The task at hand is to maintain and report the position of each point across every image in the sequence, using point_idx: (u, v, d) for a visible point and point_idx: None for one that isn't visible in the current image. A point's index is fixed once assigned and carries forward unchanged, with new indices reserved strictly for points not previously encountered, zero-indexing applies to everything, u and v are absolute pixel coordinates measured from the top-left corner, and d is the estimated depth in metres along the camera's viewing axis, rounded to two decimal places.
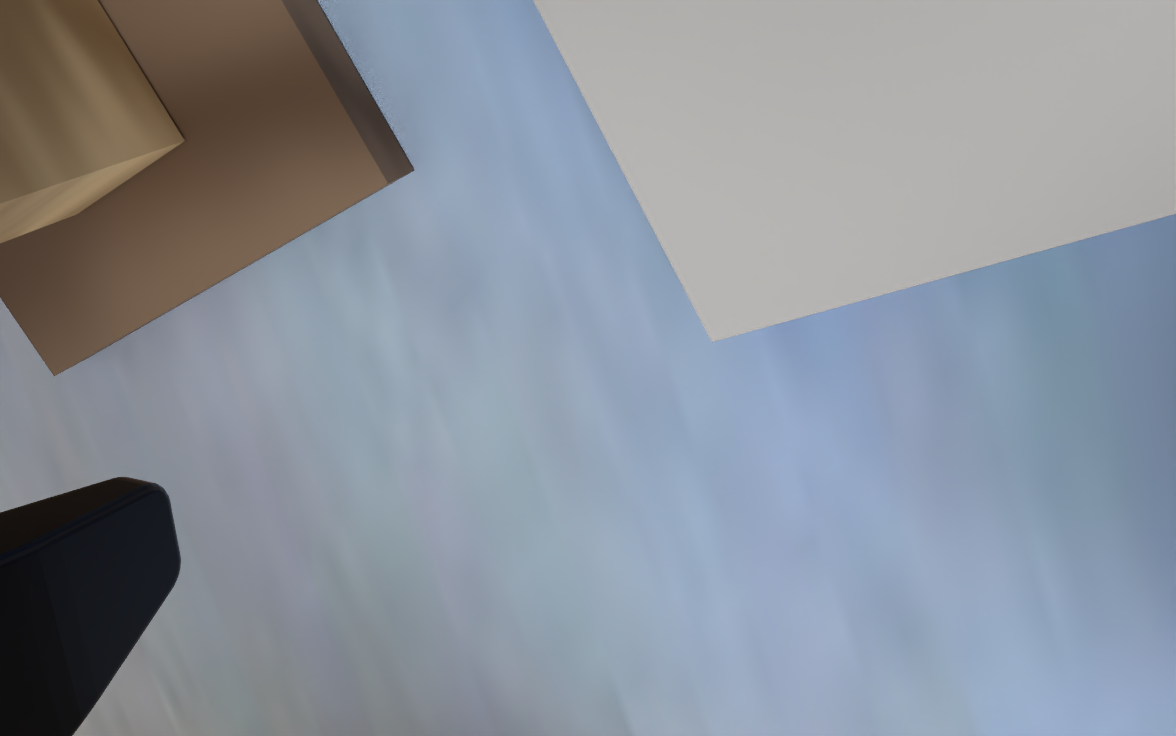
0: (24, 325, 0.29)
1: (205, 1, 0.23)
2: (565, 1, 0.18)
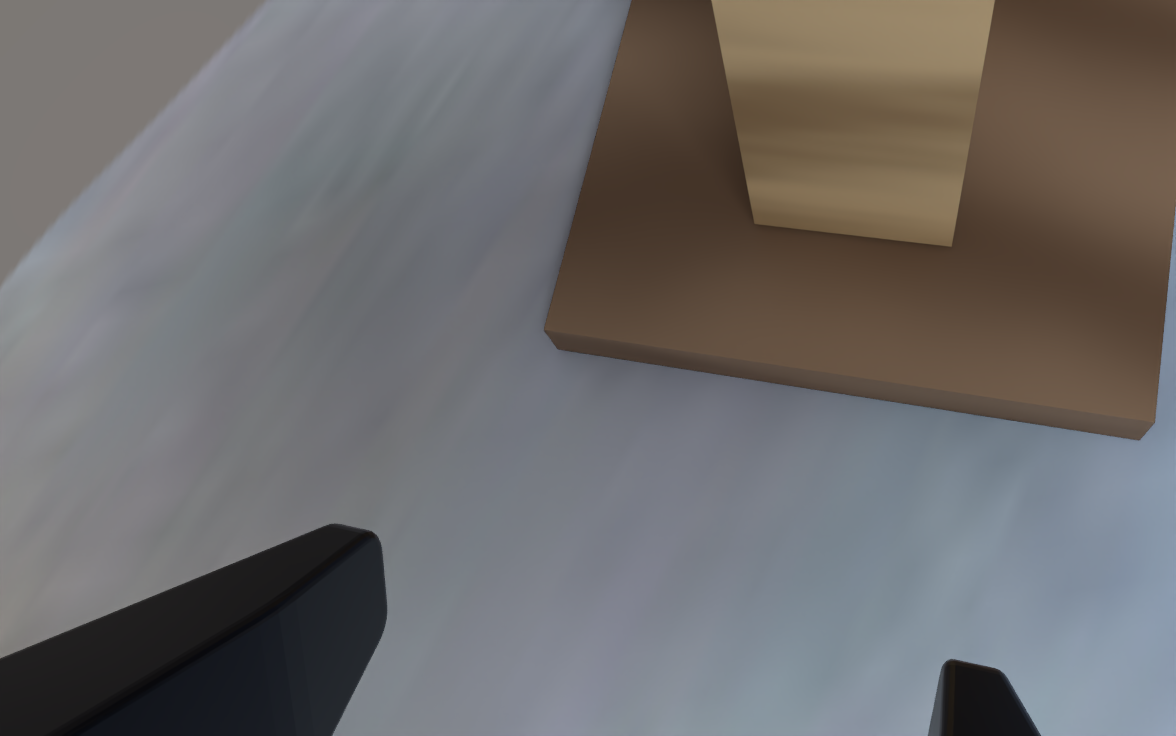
0: (567, 268, 0.24)
1: (1089, 169, 0.22)
2: None
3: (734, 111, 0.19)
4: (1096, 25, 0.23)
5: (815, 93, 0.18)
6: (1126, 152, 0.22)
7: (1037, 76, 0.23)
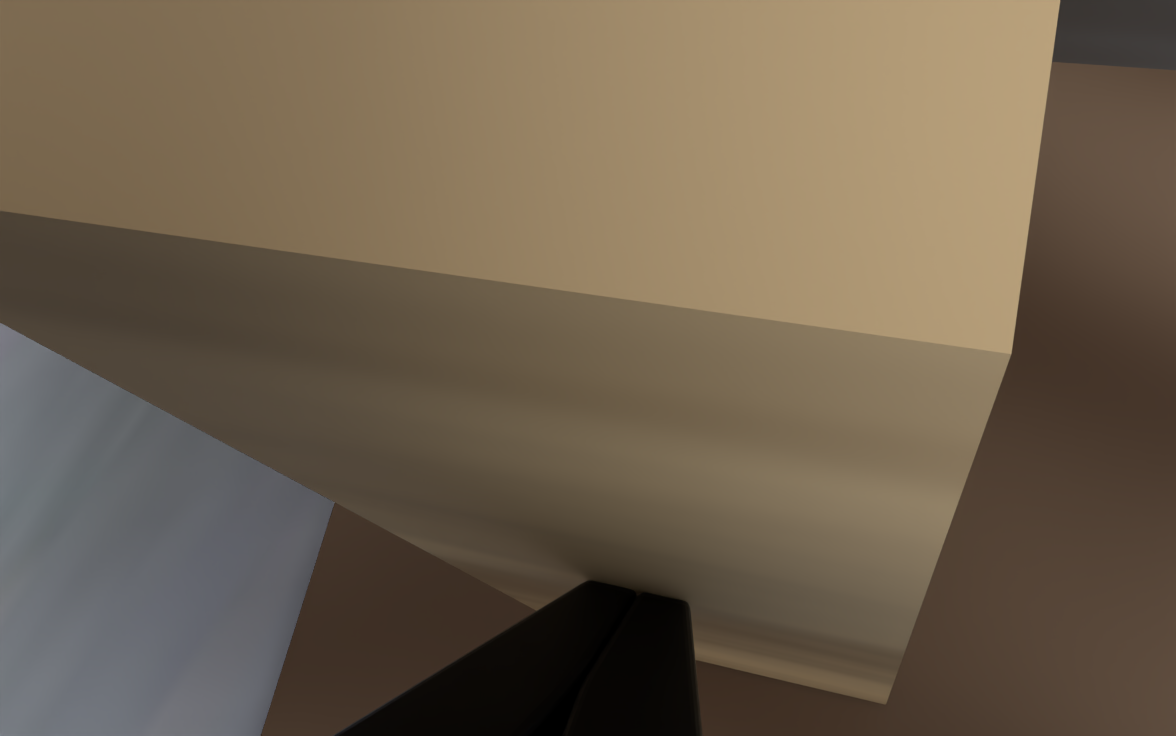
0: None
1: (1103, 673, 0.13)
2: None
3: (471, 575, 0.11)
4: (1114, 400, 0.14)
5: None
6: (1168, 645, 0.13)
7: (1017, 486, 0.14)
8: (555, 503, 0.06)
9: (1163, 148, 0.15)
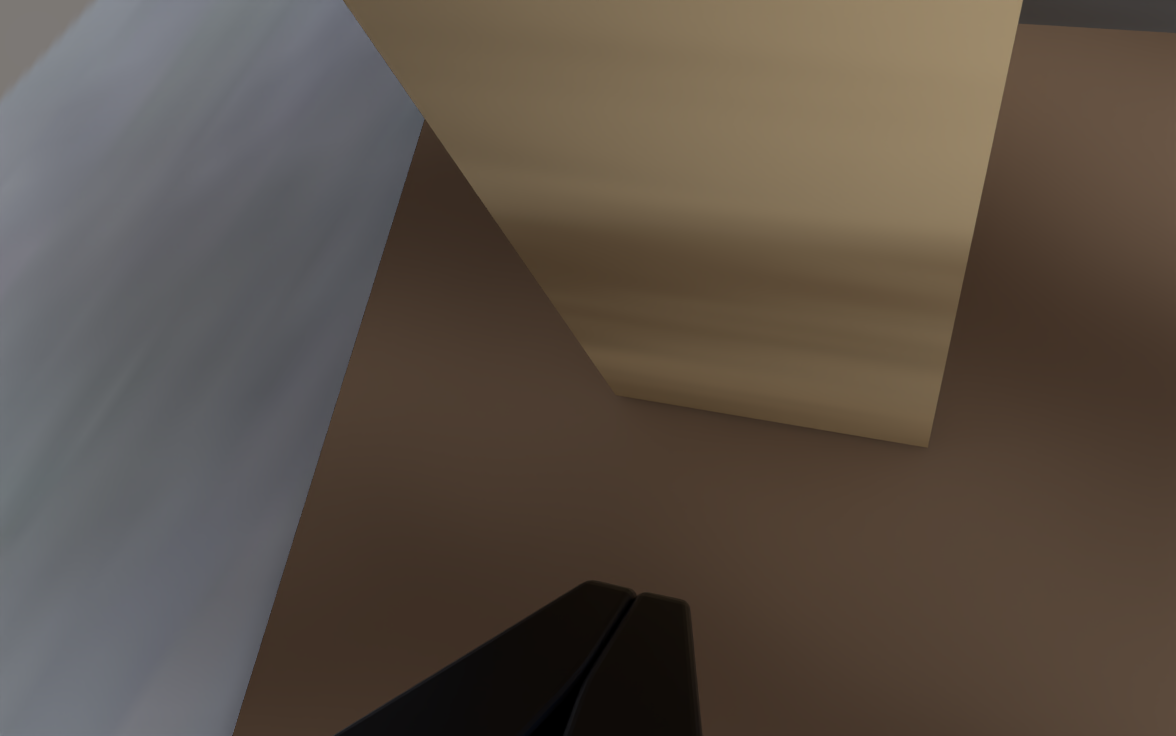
0: None
1: (1117, 680, 0.12)
2: None
3: (525, 260, 0.11)
4: (1129, 388, 0.13)
5: (654, 244, 0.10)
6: None
7: (1025, 480, 0.13)
8: None
9: None
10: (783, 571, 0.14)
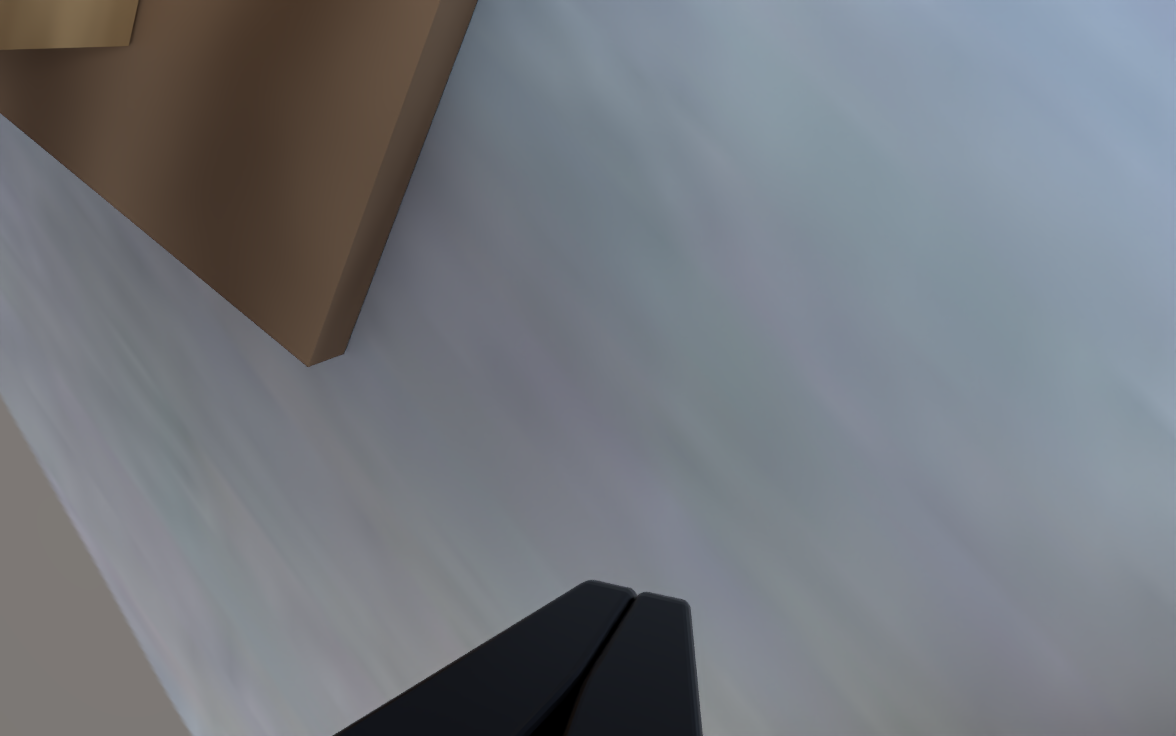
0: (264, 324, 0.25)
1: None
2: None
3: None
4: None
5: None
6: None
7: None
8: None
9: None
10: None
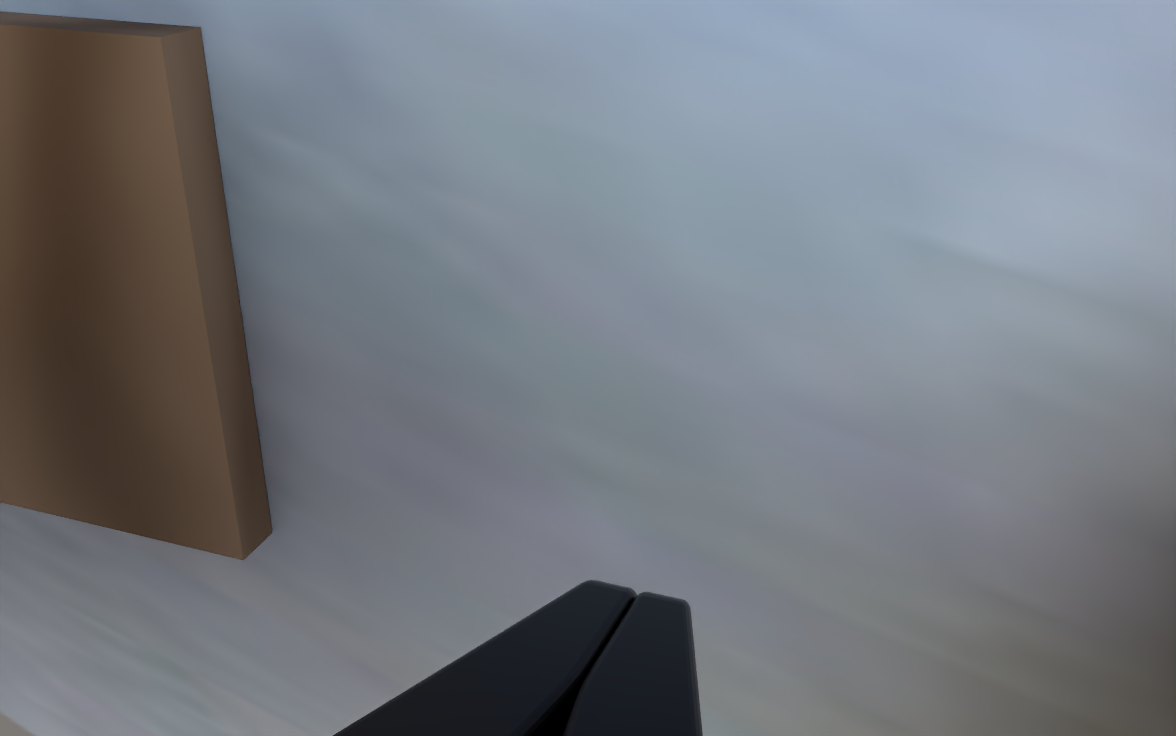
0: (189, 542, 0.26)
1: None
2: None
3: None
4: None
5: None
6: None
7: None
8: None
9: None
10: None
